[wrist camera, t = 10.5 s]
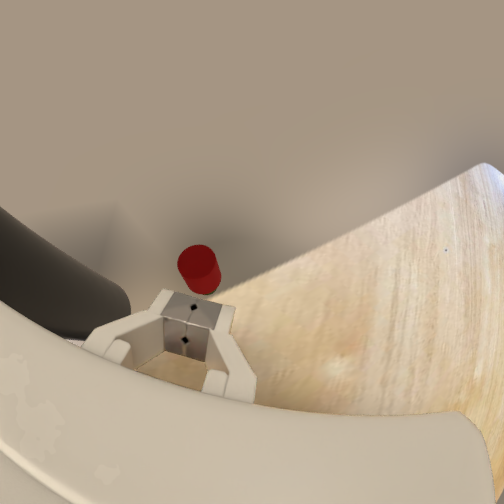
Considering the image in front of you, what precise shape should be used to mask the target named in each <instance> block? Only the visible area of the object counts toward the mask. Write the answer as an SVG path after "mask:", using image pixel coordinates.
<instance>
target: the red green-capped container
mask: <svg viewBox="0 0 504 504" xmlns="http://www.w3.org/2000/svg"><path fill="white" fill-rule="evenodd" d="M177 267H178V270H179V272H180V274H181V276H182V277H183V279H184V280H185V282H186V284H187V286H188V287H189V289H190V290H191V291H192V292H194V293H196V294H202V295H211V294H213V293H214V292H215V291H216V289H217V287H218V286H219V284H220V282H221V272H220V269H219V265H218V262H217V259H216V256H215V253H214V252H213V251H212V249H211V248H209V247H208V246H205V245H200V244H199V245H192V246H190V247H188V248H186V249H185V250H184V251H183V252H182V253H181V254H180V256H179V258H178V261H177Z"/></svg>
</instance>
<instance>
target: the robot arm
mask: <svg viewBox="0 0 504 504" xmlns="http://www.w3.org/2000/svg"><path fill="white" fill-rule="evenodd" d="M235 309H236V307H234V306H229V305H225V304H219V303H215V302H211V301H207V300H203V299H199V298H196V297H192V296H189V295H186V294H182V293H179V292H175V291H171V290H168V289H165V288H164V289H162V290H161V291H160V293H159V294H158V296H157V297H156V299H155V300H154V301H153V303H152V304H151V306H150V307H149V309H148V310H147V311H145V310H143V311H140V312H137V313H135V314H132V315H129V316H127V317H124V318H121V319H119V320H116V321H114V322H111V323H108V324H106V325H103V326H100V327H98V328H95V329H94V331H93V332H92V333H91V334H90V336H89V337H88V338H87V339H86V341H85V342H84V343H83V345H82V346H81V347H79V346H77V345H75V344H73V343H71V342H69V341H67V340H65V339H63V338H61V337H59V336H57V335H55V334H54V333H52V332H50V331H48V330H46V329H45V328H43V327H41V326H39V325H38V324H36V323H34V322H33V321H31V320H29V319H28V318H26V317H24V316H23V315H21V314H20V313H18V312H17V311H15V310H13V309H12V308H10V307H9V306H7V305H6V304H5V303H3V302H2V301H0V504H496V500H495V489H494V481H493V474H492V469H491V464H490V459H489V455H488V451H487V447H486V443H485V440H484V437H483V435H482V433H481V431H480V429H479V428H478V427H477V426H476V425H475V424H474V423H473V422H472V421H471V420H470V419H469V418H467V417H466V416H465V415H464V414H463V413H461V412H460V411H445V412H436V413H426V414H411V415H342V414H327V413H315V412H306V411H297V410H289V409H282V408H276V407H269V406H263V405H258V404H254V399H255V392H256V384H257V377H256V375H255V374H254V372H253V370H252V368H251V367H250V365H249V363H248V362H247V360H246V358H245V356H244V355H243V353H242V351H241V349H240V348H239V346H238V344H237V342H236V341H235V339H234V337H233V335H231V334H230V332H231V328H232V323H233V318H234V314H235ZM164 351H168V352H171V353H175V354H178V355H182V356H185V357H189V358H192V359H195V360H198V361H202V362H205V365H206V368H207V371H208V372H207V375H206V378H205V381H204V384H203V387H202V390H201V392H200V391H196V390H193V389H189V388H186V387H182V386H179V385H176V384H173V383H169V382H166V381H163V380H160V379H157V378H154V377H151V376H148V375H146V374H143V373H140V372H137V371H135V369H137V368H139V367H140V366H142V365H143V364H145V363H147V362H148V361H150V360H151V359H153V358H154V357H156V356H158V355H159V354H161V353H162V352H164Z"/></svg>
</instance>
